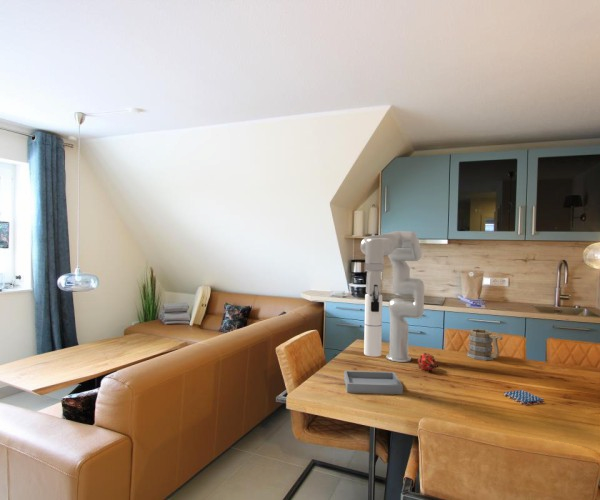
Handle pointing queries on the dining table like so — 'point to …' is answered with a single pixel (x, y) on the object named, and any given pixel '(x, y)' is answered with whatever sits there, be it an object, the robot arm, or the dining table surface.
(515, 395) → the woven mat
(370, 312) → the cylindrical container
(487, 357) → the tankard
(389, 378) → the tray
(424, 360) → the dragon fruit
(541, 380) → the dining table surface
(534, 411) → the dining table surface
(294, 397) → the dining table surface
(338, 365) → the dining table surface
